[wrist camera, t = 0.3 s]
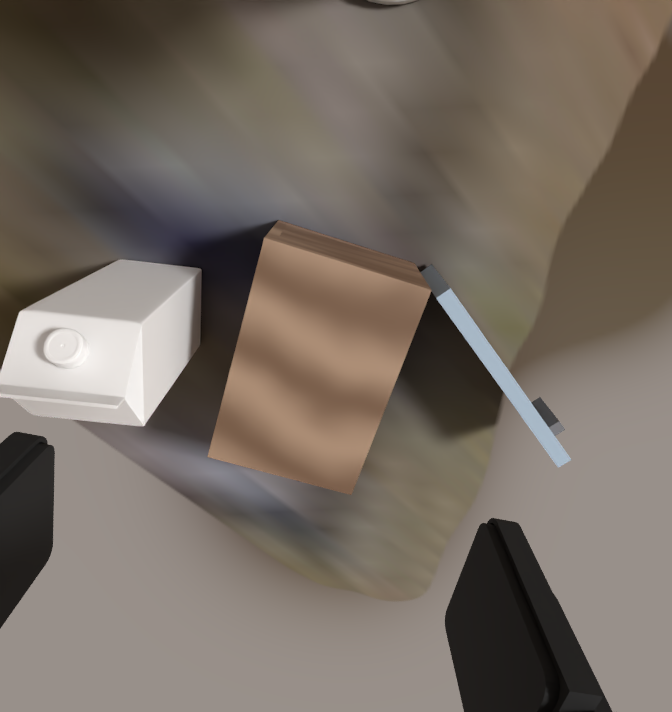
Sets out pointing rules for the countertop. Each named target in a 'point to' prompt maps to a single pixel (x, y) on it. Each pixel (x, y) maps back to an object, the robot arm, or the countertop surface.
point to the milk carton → (105, 344)
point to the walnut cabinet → (316, 357)
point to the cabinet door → (500, 370)
